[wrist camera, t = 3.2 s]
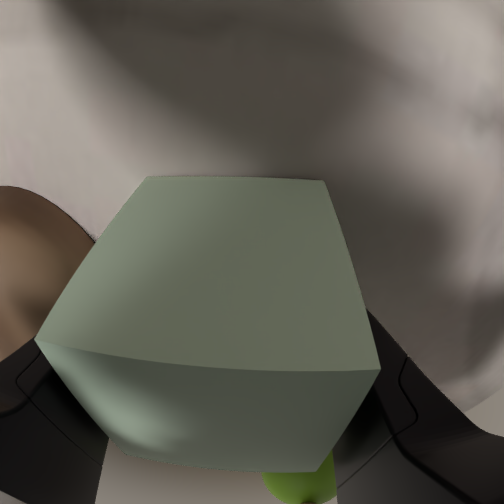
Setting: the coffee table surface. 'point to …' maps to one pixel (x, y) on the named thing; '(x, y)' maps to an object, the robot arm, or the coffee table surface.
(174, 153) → the coffee table surface
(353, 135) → the coffee table surface
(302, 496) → the snail figurine
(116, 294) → the sage block
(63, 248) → the walnut base
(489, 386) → the coffee table surface
